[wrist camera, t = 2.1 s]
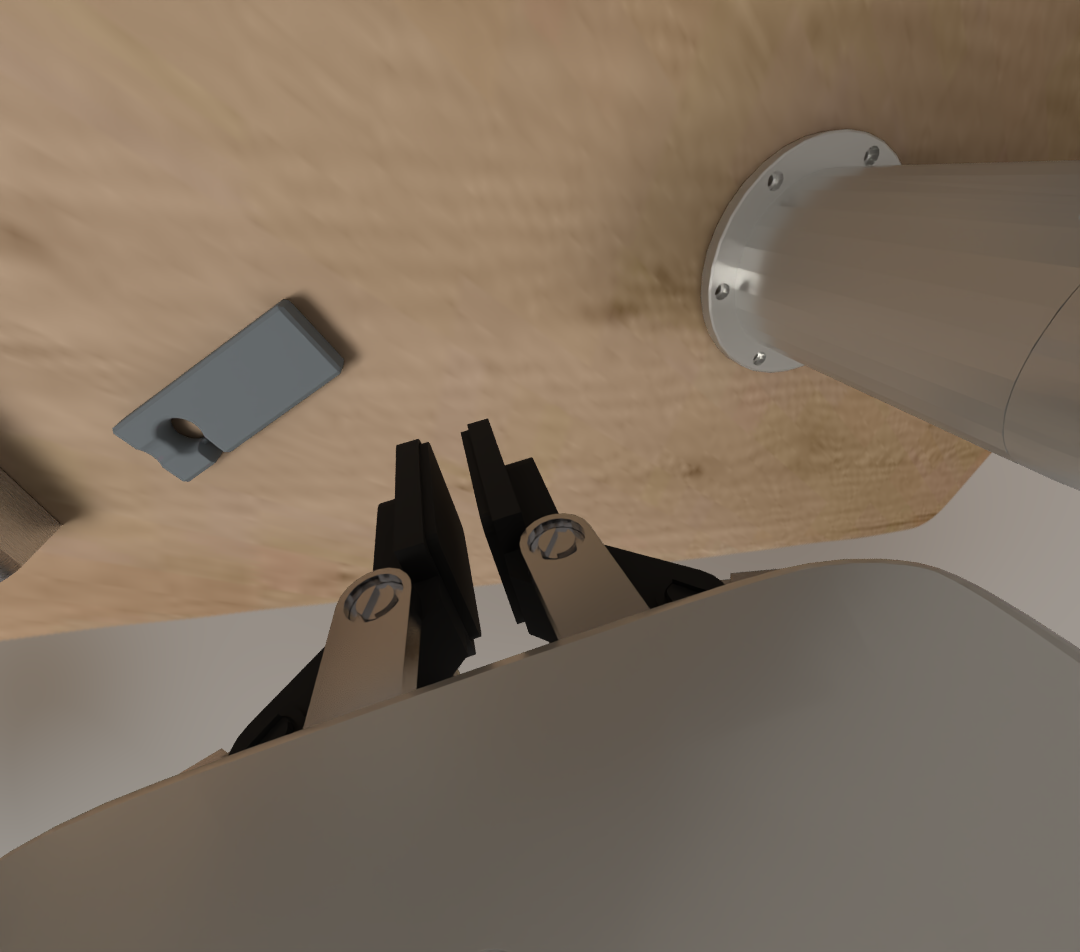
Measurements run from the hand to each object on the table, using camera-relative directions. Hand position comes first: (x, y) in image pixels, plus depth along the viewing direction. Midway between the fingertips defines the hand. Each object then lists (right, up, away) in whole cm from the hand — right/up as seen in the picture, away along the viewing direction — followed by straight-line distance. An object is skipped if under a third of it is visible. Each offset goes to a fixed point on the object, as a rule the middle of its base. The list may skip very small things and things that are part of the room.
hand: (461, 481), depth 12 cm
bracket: (-14, +5, +12) cm, 19 cm away
